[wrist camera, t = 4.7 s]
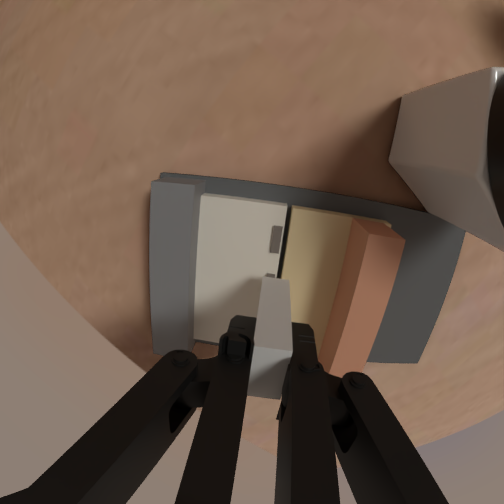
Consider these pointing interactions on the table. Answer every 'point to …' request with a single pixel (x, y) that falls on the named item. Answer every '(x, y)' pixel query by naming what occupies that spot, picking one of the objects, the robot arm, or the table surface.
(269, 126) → the table surface
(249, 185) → the mat
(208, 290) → the cream slotted tile
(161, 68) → the table surface
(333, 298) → the tan block
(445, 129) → the jar
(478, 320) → the table surface
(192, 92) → the table surface
